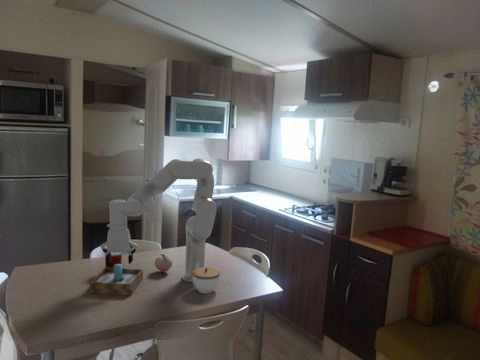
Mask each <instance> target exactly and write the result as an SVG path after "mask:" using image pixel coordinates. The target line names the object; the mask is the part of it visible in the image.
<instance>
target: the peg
mask: <svg viewBox="0 0 480 360" xmlns="http://www.w3.org/2000/svg"><path fill="white" fill-rule="evenodd" d="M122 268H123V264H115V265H114V282H122Z"/></svg>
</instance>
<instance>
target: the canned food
mask: <svg viewBox="0 0 480 360" xmlns="http://www.w3.org/2000/svg"><path fill="white" fill-rule="evenodd" d="M110 253H111V260H112V261H111V262H110V263H108V261H107V255H106V254H105V253H104V255H105V257H104V258H105V262H104V265H105V266H104V268H105V267H108V268H114V265H115V264H122V257H123V254H122V253H123V252H110ZM122 265H123V264H122Z"/></svg>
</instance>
